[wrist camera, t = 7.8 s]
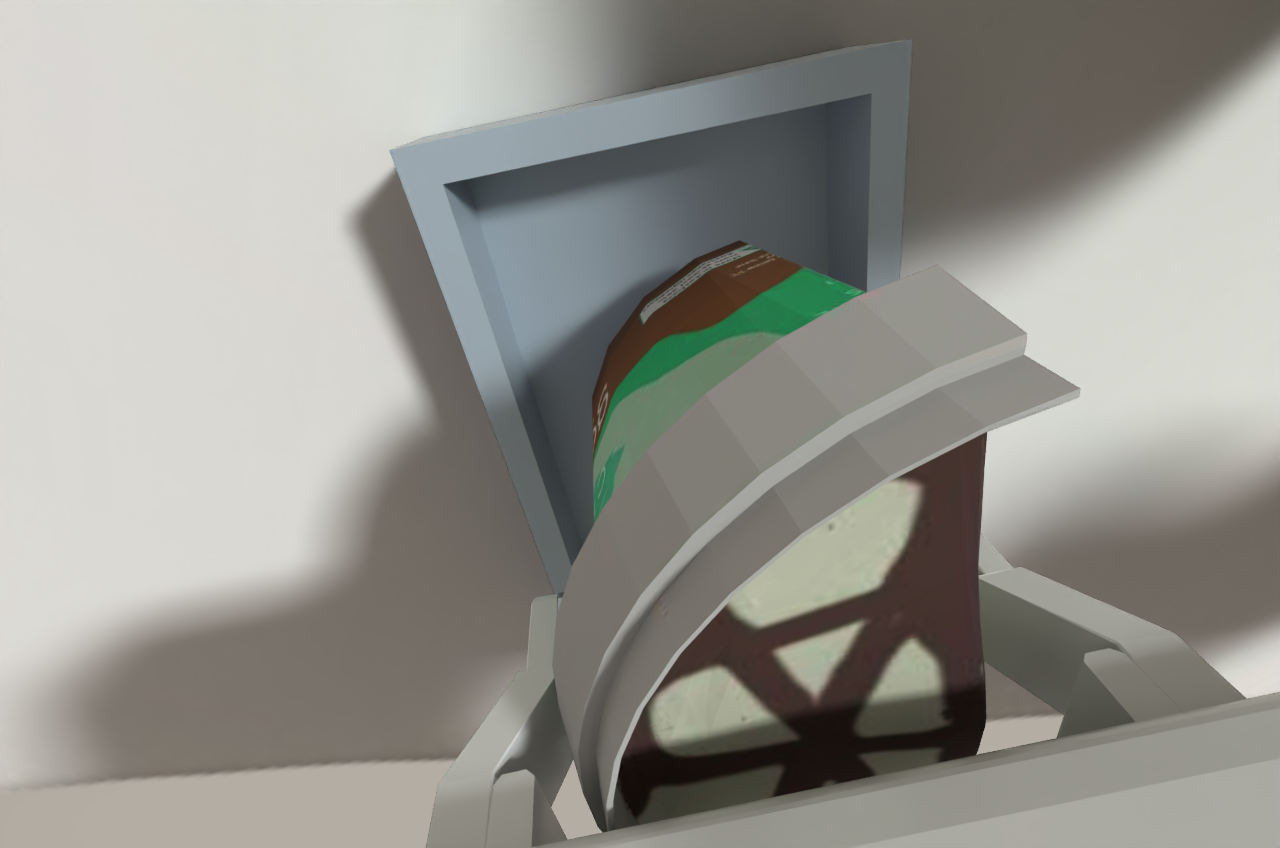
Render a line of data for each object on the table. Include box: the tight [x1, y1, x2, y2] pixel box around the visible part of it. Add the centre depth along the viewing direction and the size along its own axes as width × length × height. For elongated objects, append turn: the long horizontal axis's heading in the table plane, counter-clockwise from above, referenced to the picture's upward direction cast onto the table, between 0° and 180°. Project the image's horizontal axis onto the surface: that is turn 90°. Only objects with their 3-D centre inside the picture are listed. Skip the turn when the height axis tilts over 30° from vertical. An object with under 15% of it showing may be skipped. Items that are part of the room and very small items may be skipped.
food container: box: [552, 240, 1080, 832], centre depth 12 cm, size 12×6×10 cm, turn 15°
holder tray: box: [389, 39, 913, 594], centre depth 17 cm, size 11×17×3 cm, turn 10°
